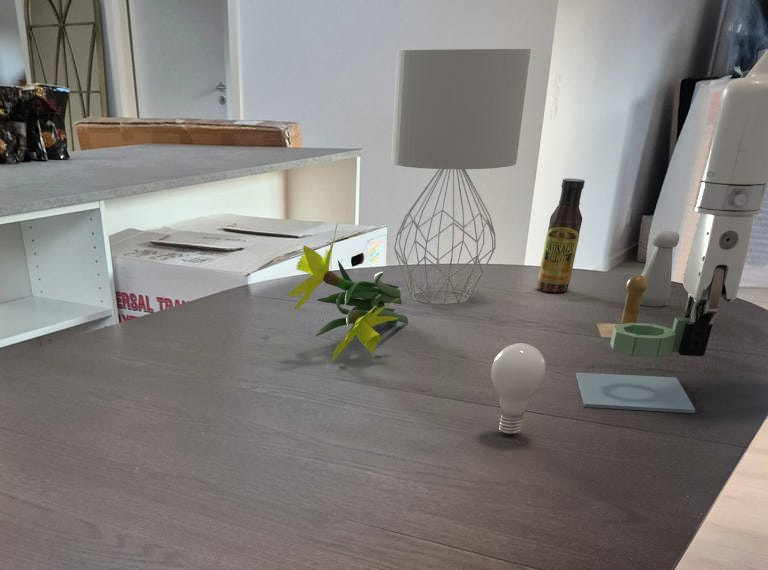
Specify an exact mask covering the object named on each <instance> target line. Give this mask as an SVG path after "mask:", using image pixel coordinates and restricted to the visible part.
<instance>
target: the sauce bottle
mask: <svg viewBox="0 0 768 570" xmlns="http://www.w3.org/2000/svg"><path fill="white" fill-rule="evenodd" d="M584 187H585V179H581V178H574V177H573V178H571V177H569V178H568V177H566V178H563V179H562V182H561V193H560V197H559V200H558V204H557V206H556V208H555V210H554V211H553V212H552V214H551V215H550V217H549V223H548V228H547V231H546V236H545V241H544V245H543V250H542V256H541V262H540V266H539V271H538V272H539V273H538V276H537V280H538V281H537V285H536V286H537V287H536V288H537V289H538V290H539V291H542V292H546V293H555V294H557V293H558V294H559V293H564V292H566V291H568V289H569V286H570V283H571V278H572V274H573V268H574V264H575V260H576V259H575V258H576V254H577V249H578V245H579V240H580V231H581V228H582V223H583V216H582V213H581V210H580V205H581V197H582V191H583V189H584Z"/></svg>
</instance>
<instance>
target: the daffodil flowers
mask: <svg viewBox="0 0 768 570" xmlns="http://www.w3.org/2000/svg"><path fill="white" fill-rule="evenodd" d="M337 229H338V223H336V225H335V229H334V235H336V234H337ZM335 238H336V236H334V237H333V240H332V243H331V245H330V246H329V247H330V248H329V250H327V249H325V252H324V256H322V255H320V254H319V252H317V251H315V250H314V249H313V248H311V247H309V246H307V245H303V247H302V249H303V252H302V254H301V255H300V258H298V260H299V261H297V264H296V270H297V271H300V272H304V273H306V274H309V275H310V276H309V277H308V278H306V279H305V280H304V281H302V282H301V283H300V284H298V285H297V286H296V287H294V288H293V289H291V290H290V291H289V292H288V293H287V294H286V297H296V296H300V295H302V296H301V298H300V299H299V300H298V302H297V303H296V305H295V307H294V308H293V310H292V312H295V311H296V310H297V309H298V308H300V307H302V306H303V305H304V304H305V303H306V302H307V301H308V300H309V298H310V297H311V295H312V293H313V292H314V290H316V289H317V288H318V286H319V285H320V284H322V283H323V282H324V283H325V284H327V285H330V286H333V287H336V288H338V289H341V290H343V291H340V292H337V293H334V294H331V295H328V296H326V297H321V298H317V299H316V301H317V302H321V303H327V304H334V305H336V308H337V310H338V311H339V312H340V313H341V314H343V315H346V316H345V317H340V318H339V317H338V318H336V319H332V320H331V321H329V322H328V323H326V324H325V325H324V326H323V327H321V329H320V330H319V331H318V332H317V333H316V334H315V337H318V336H322V335H323V334H325V333H328V332H329V331H330V332H331V331H332V330H334V329H336V328H340V327H343V326H347V327H349V325H351V326H350V328H349V330H348V332H347V333H346V335H345V336H344V337H342V339H341V341H339V342H338V344H337V346H336V347H335V349H334V350H333V355H332V358H331V360H330V361H331V362H333V360H334V359H336V358H337V356H338V355H339V354H340V353H341V352H342V351H343V350H344V349H345V348H346V347H347V346H348V345H349V344H350V343H351V341H353V339H354V338H355V336H356V338H357V339H358V340H359V342H360V344H361V345H362V346H363V347H364V348H366V349H367V350H368V351H369V352H370V353H372V354H375V353H376V346H378V343H380V341H381V340H382V339H381V338H382V335H381V334H379V333H378V332H377V331H376V330H374V328H372V327H375V326H377V325H380V324H383V323H386V324H391V325H396V324H397V323H398V322H400V323H403V324H407V325H408V324H409V319H408V317H407V315H403V314H400V313H397V312H395V311H396V309H395V308H390V307H388V306H389V305H390V304H397V305H402V303H403V301H402V297H401V296H402V294H401V293H402V292H401V290H400V289H399V288H400V286H399V285H395V284H391V283H390V284H389V283H384V282H383V281H381V280H380V279H381V278H382V276H383V274H384V271H379V272H378V273H375V274H374V276H373V281H366V280H359V281H353V279H352V278H351V277H350V276H349V274H348V273H347V271H346V270H345V268H344V266H343V265H342V263H341V262H340V261H339V260H337V264H338V268H339V272H340V274H341V277H339V276H338V275H336V274H335V273H334V272H333V271H331V270H330V263H331V255H332V251H333V248H334V244H335V240H336V239H335ZM342 306H351V307H352V308H350V309H348V308H344V307H342Z"/></svg>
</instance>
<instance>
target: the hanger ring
mask: <svg viewBox="0 0 768 570" xmlns="http://www.w3.org/2000/svg"><path fill="white" fill-rule="evenodd" d="M686 323H689V318H683V317H674V320H673V323H672V327H666V326H663V325H659V324H655V323H653V324H652V323H641V322H636V323H625V324H621V323H620V324H621V325H616V326H614V328H613V333H612V337H611V338H610V342H609V345H610V347H611V349H612V350H613V351H615V352H618V353H621V354H622V353H623V354H625V355H629V356H634V357H648V358H649V357H653V358H656V357H657V358H659V357H662V356H666V355H671V354H672V353H679V347H680V344H681V340H682V336H683V332H684V328H685V324H686Z"/></svg>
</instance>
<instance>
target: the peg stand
mask: <svg viewBox="0 0 768 570" xmlns="http://www.w3.org/2000/svg"><path fill="white" fill-rule="evenodd" d="M646 288H647V280H646V278H645V277H644V275H641V274H634V275H632V276H630V277H629V279H628V280H627V281H626V284H625V290H626V296H625V300H624V301H625V302H624V306H623V311H622V316H621V319H620V323H599V322H597V323H596V326H597V329H598V331H599V334H600V336H601V338H610V339H611V337H612V333H613V328H614V326H616V325H621V324H625V323H638V317H639V312H640V309H641V305H640V303H641V299H642V294H643V292H644V291H645V290H646Z"/></svg>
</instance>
